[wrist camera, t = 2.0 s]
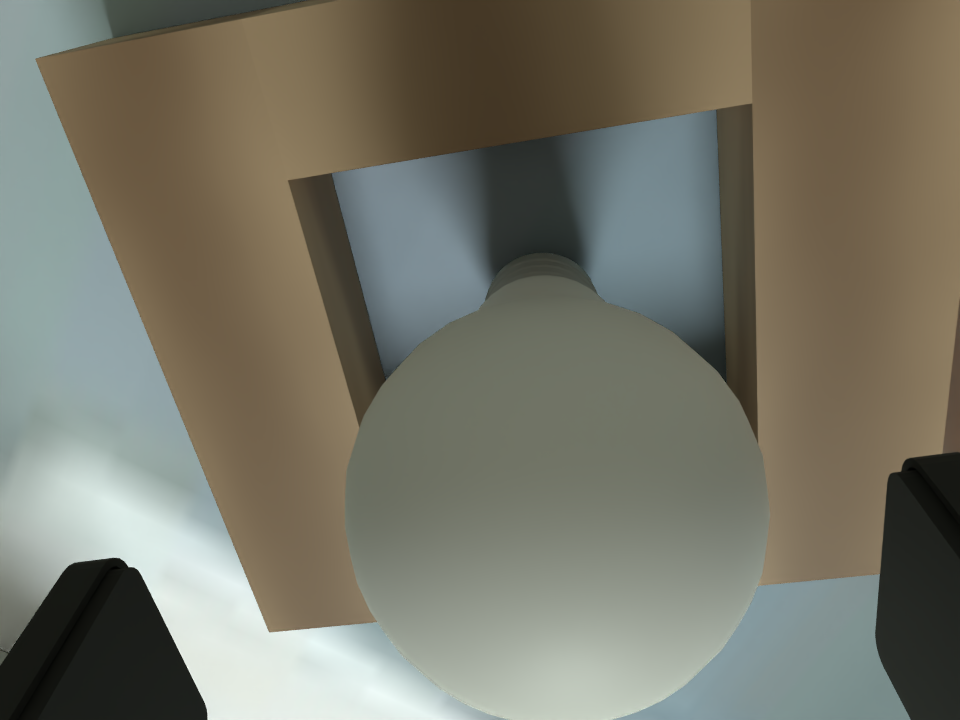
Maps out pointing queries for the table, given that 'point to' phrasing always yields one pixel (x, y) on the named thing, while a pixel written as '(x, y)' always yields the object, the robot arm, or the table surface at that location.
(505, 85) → the walnut holder
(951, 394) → the terracotta stand
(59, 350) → the table surface
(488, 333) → the lightbulb
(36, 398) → the table surface
